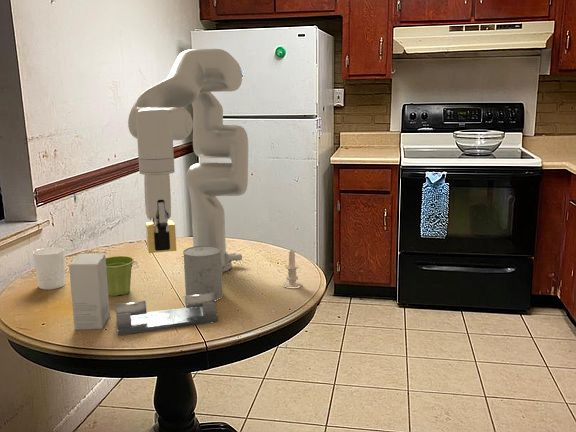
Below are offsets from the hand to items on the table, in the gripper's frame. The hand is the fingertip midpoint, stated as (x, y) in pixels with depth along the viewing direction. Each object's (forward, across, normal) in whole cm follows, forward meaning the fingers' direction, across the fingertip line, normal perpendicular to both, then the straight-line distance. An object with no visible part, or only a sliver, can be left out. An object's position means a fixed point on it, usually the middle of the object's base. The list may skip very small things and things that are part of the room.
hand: (161, 246), depth 127 cm
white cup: (+18, -35, -27) cm, 48 cm away
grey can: (+18, -13, +11) cm, 25 cm away
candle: (+18, -13, +35) cm, 41 cm away
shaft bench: (+18, 0, 0) cm, 18 cm away
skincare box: (+18, -4, -16) cm, 24 cm away
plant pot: (+18, -23, -10) cm, 31 cm away
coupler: (+1, 0, 0) cm, 1 cm away
